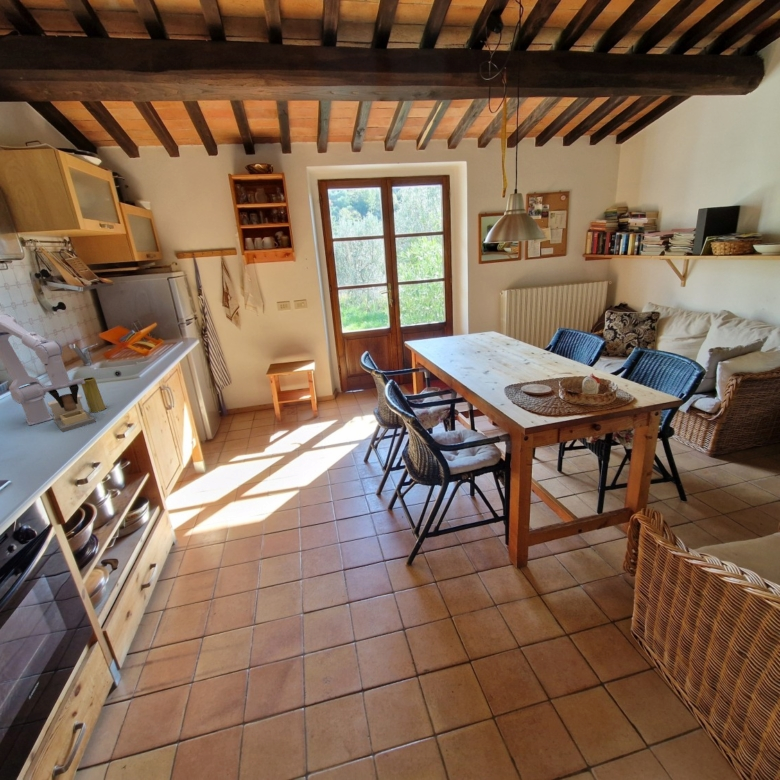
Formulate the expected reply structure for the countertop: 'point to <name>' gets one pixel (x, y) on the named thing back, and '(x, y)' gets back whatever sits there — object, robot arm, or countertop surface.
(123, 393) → the countertop surface
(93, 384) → the vase
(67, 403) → the peg
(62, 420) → the socket stand
